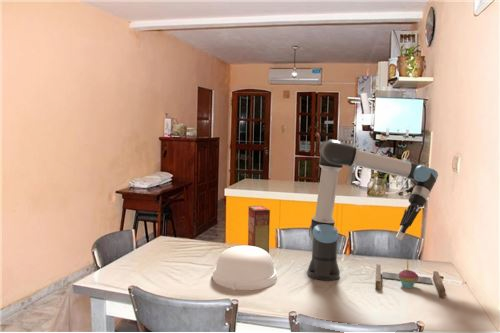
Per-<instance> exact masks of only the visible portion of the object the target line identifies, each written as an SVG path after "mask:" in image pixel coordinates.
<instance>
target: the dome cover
mask: <svg viewBox="0 0 500 333" xmlns="http://www.w3.org/2000/svg"><path fill="white" fill-rule="evenodd" d="M212 280H213V282H214V283H216V284H218V285H219V286H221V287H224V288H227V289H231V290H233V291H235V290H236V291H237V290H240V291H251V290H252V291H253V290H254V291H255V290H261V289H266V288H269V287H271V286H273V285H274V284H276V283H277V281H278V273H277V270H276V268H275V266H274V261H273V258H272V256H271V255H270V252H269V253H268V252H266V251H265V250H263V249H261V248H258V247H255V246H248V245H235V246H232V247H229V248H226V249H224V250H223V252H221V253H220V255H219V257H218V259H217V262H216V266H215V267H214V269H213V272H212Z"/></svg>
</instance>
